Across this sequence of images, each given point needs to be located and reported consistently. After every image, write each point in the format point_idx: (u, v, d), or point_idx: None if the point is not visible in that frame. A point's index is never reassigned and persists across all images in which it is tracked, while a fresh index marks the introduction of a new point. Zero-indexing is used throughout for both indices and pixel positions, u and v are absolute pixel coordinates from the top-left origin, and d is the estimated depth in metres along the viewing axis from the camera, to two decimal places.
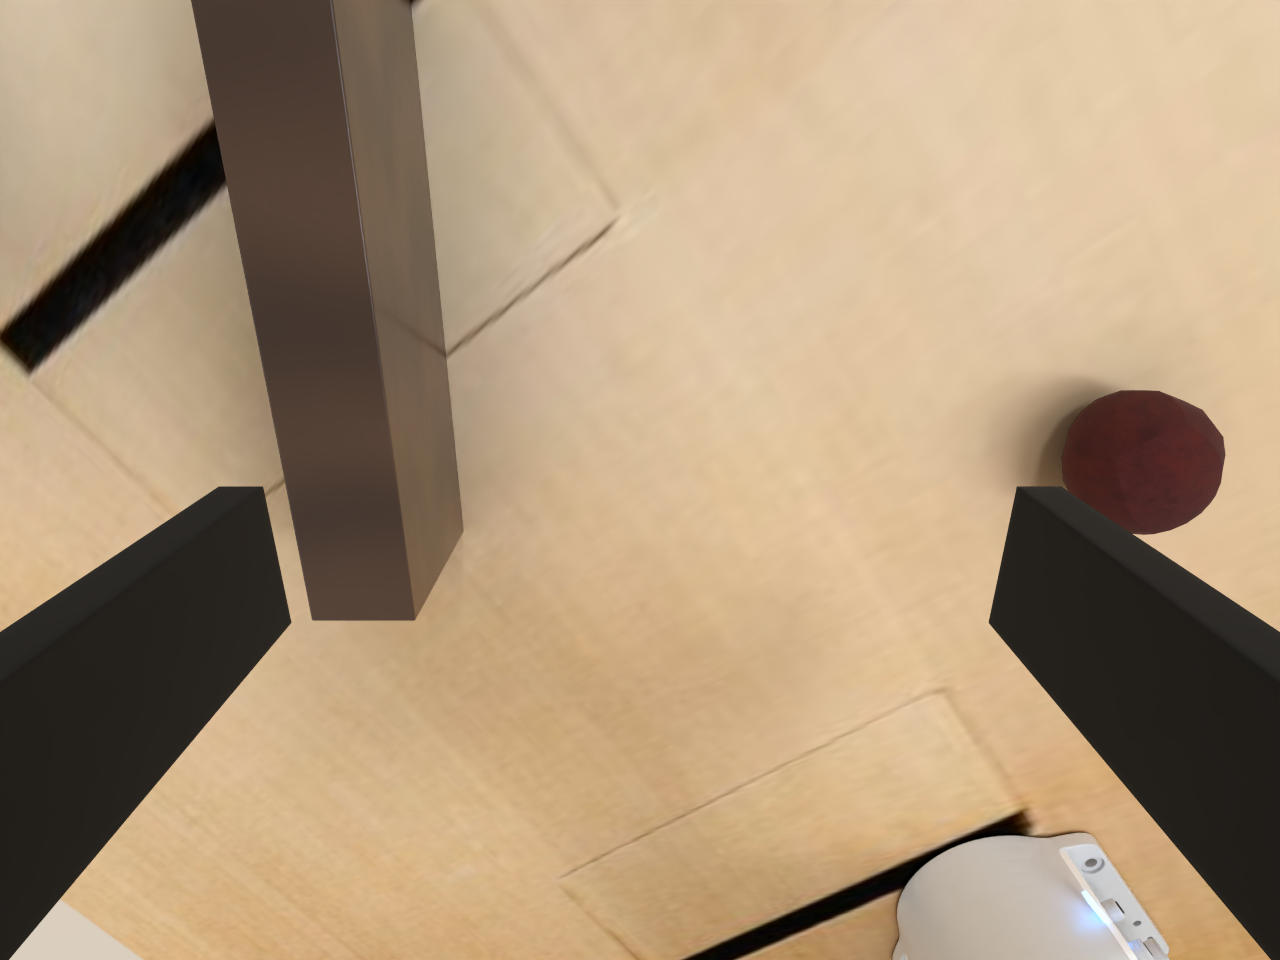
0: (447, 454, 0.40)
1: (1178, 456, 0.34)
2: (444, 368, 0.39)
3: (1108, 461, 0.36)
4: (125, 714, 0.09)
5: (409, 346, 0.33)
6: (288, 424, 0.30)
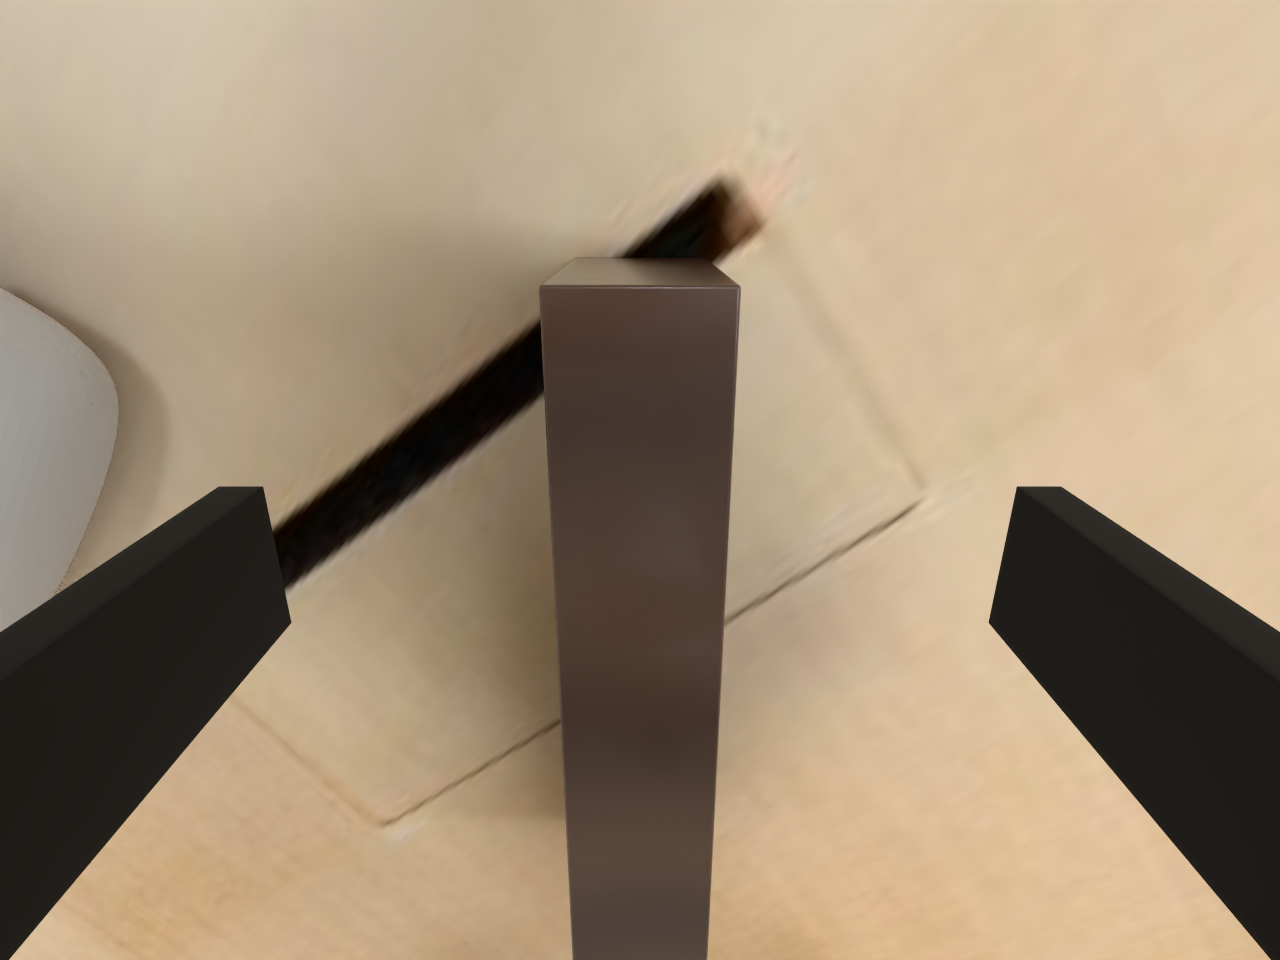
0: None
1: None
2: None
3: None
4: (125, 713, 0.09)
5: None
6: (585, 836, 0.24)
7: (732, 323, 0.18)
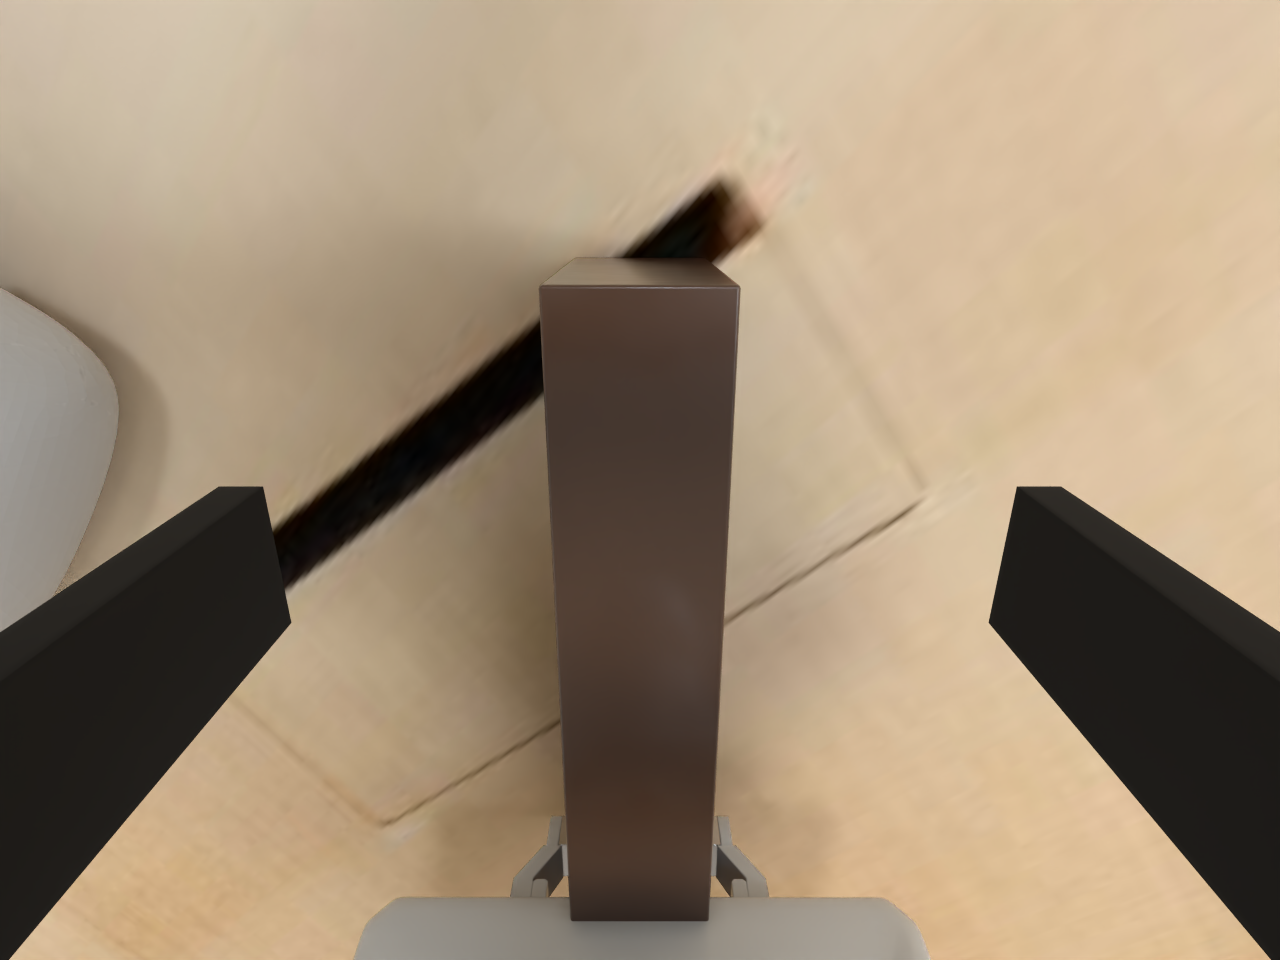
0: None
1: None
2: None
3: None
4: (125, 713, 0.09)
5: None
6: (585, 836, 0.24)
7: (731, 323, 0.18)
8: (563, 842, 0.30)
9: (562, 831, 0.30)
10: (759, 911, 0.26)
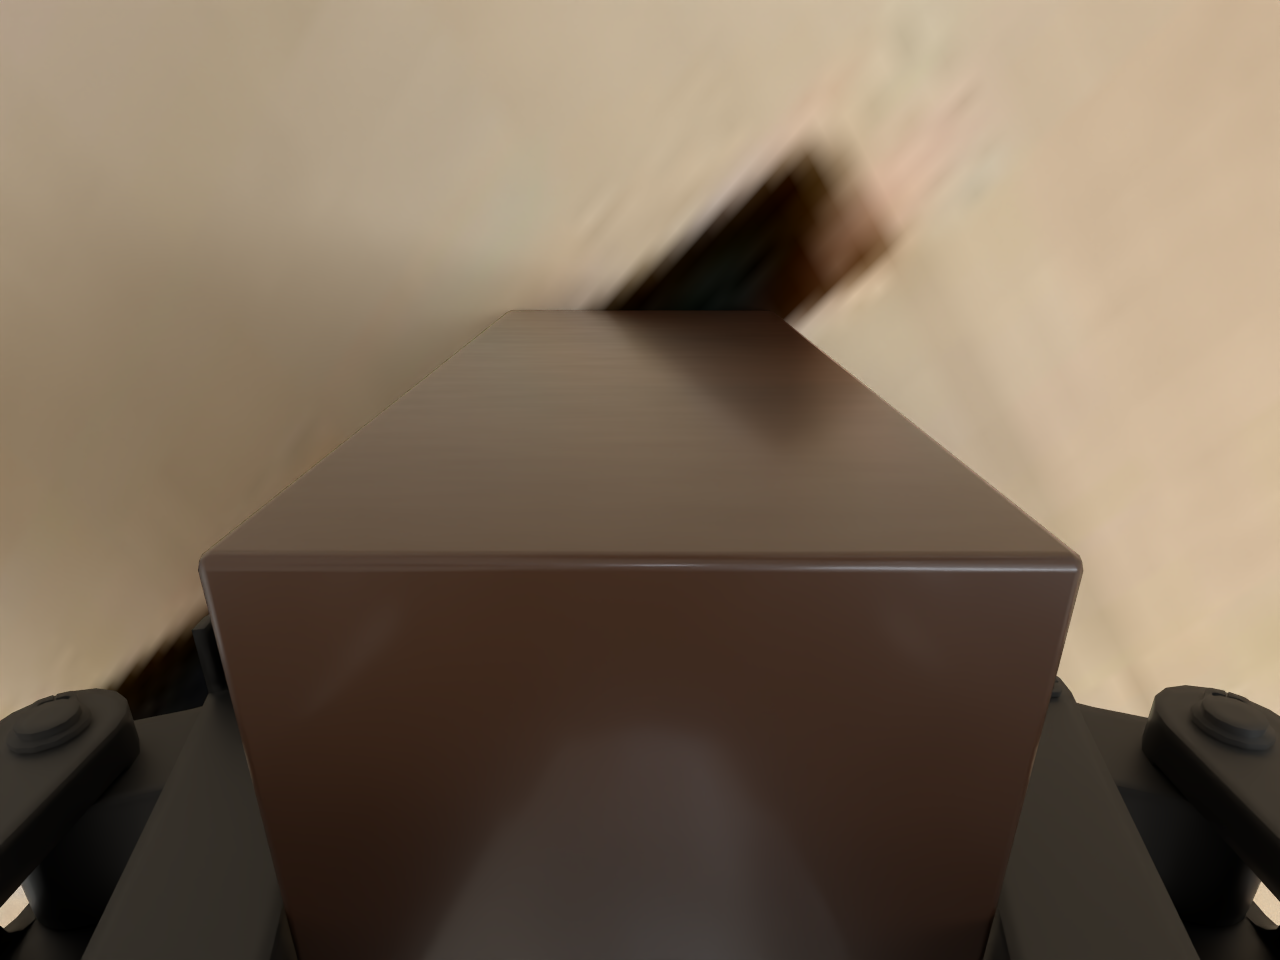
0: None
1: None
2: None
3: None
4: None
5: None
6: None
7: (1025, 698, 0.04)
8: None
9: None
10: None
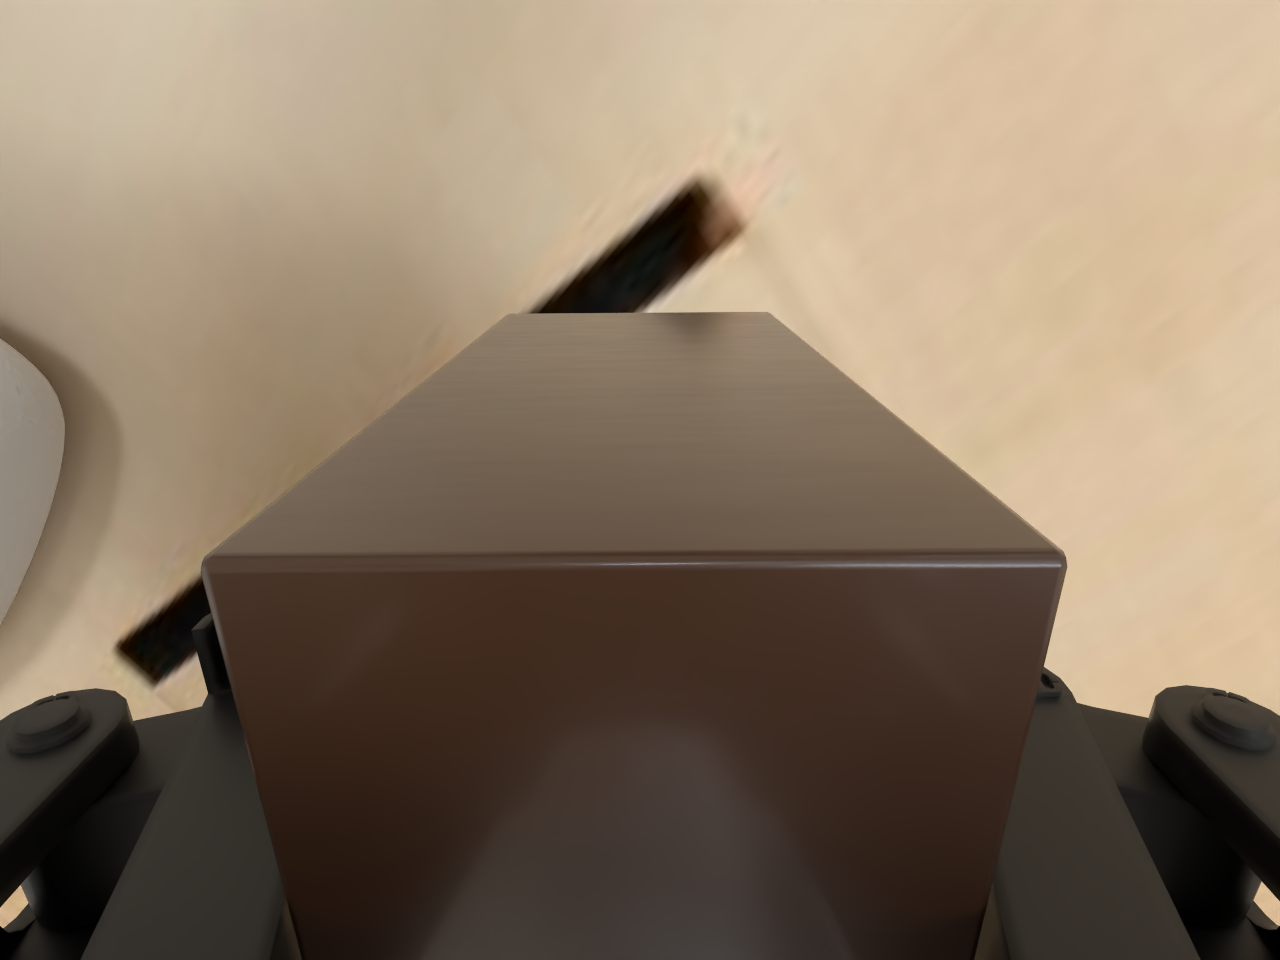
0: None
1: None
2: None
3: None
4: None
5: None
6: None
7: (1013, 693, 0.04)
8: None
9: None
10: None
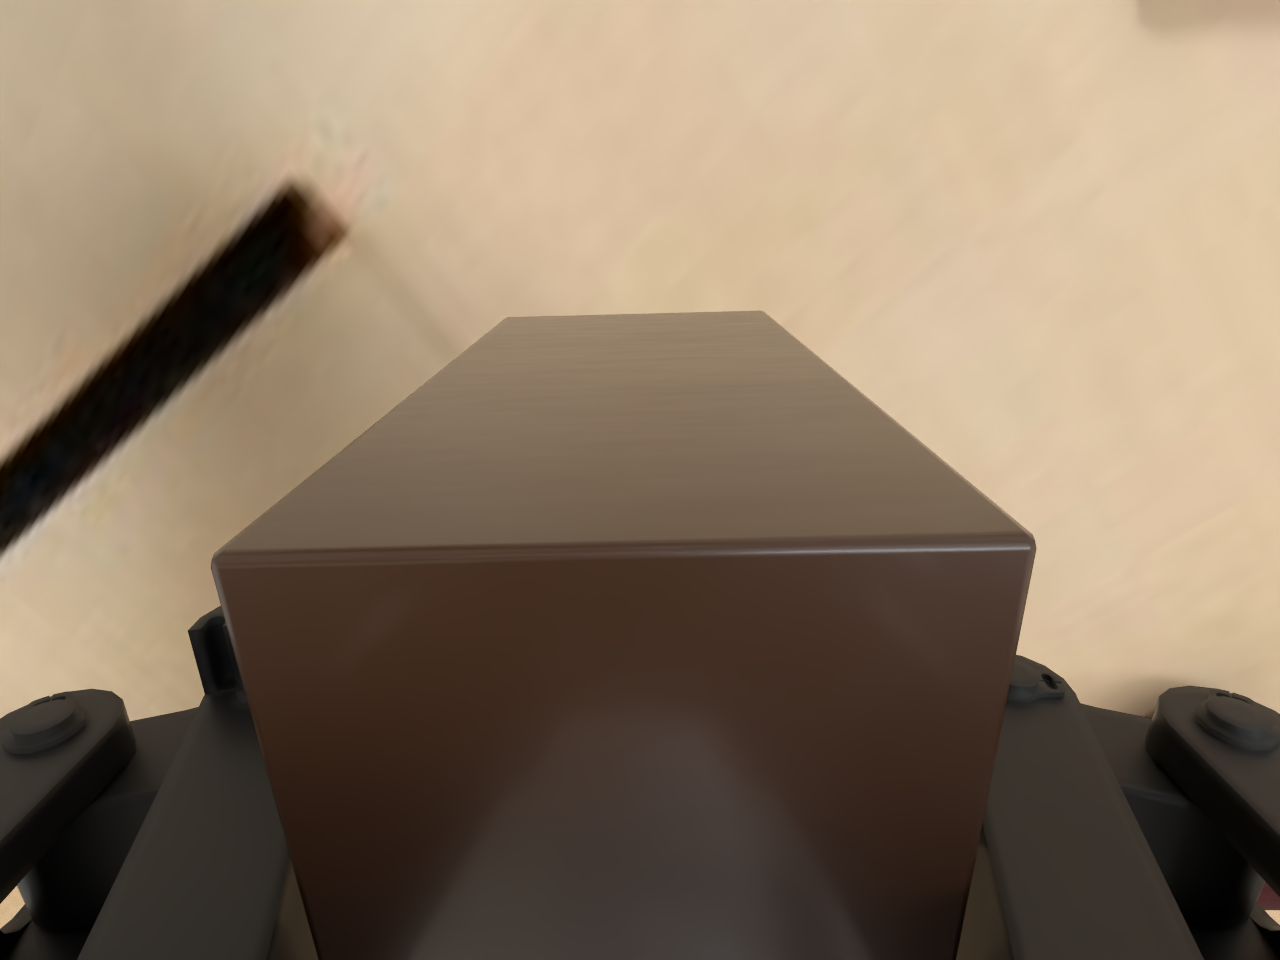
0: None
1: None
2: None
3: None
4: None
5: None
6: None
7: (989, 672, 0.04)
8: None
9: None
10: None
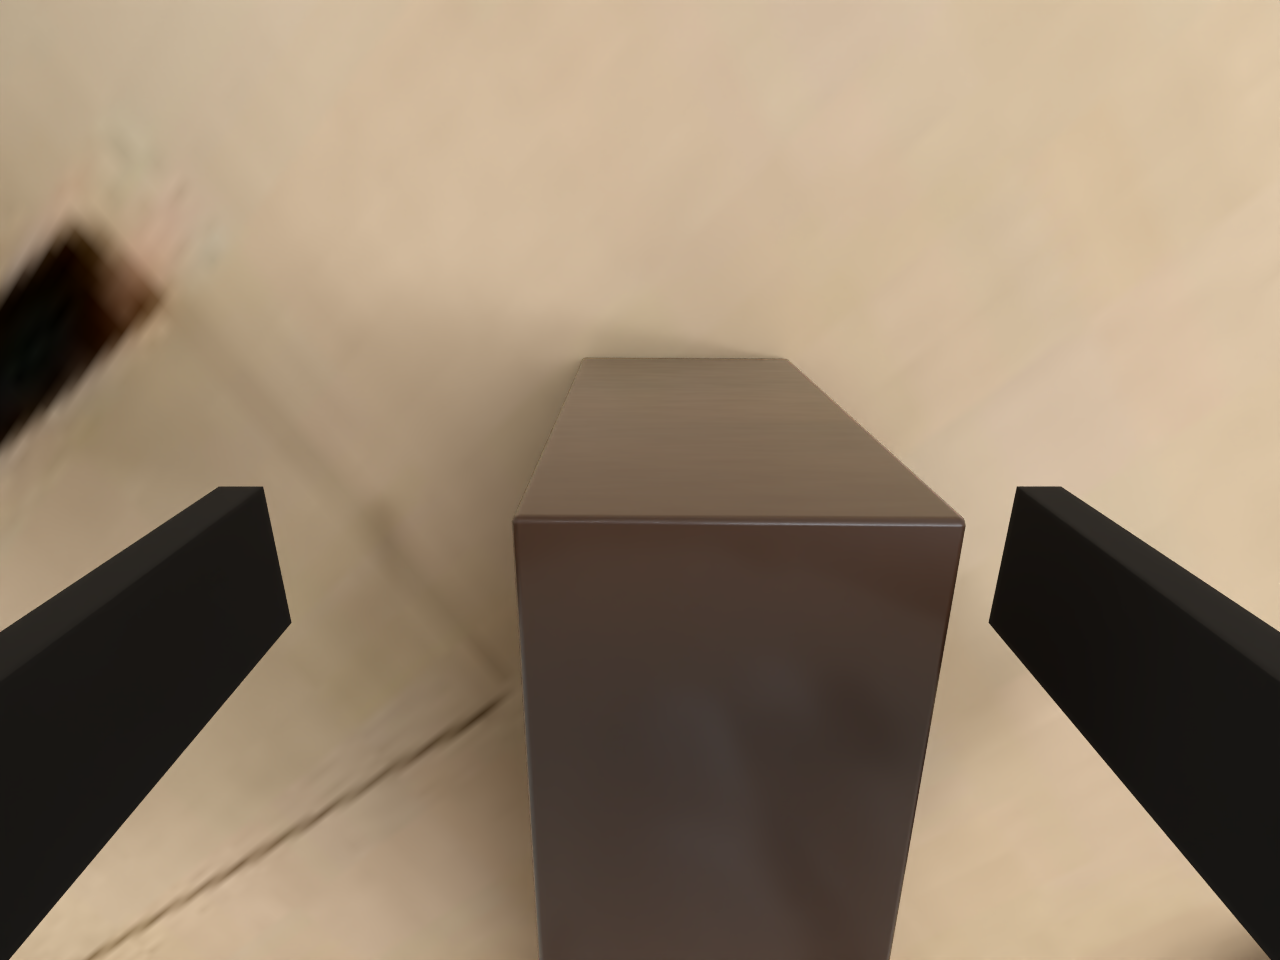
0: None
1: None
2: None
3: None
4: (125, 713, 0.09)
5: None
6: None
7: (939, 596, 0.08)
8: None
9: None
10: None
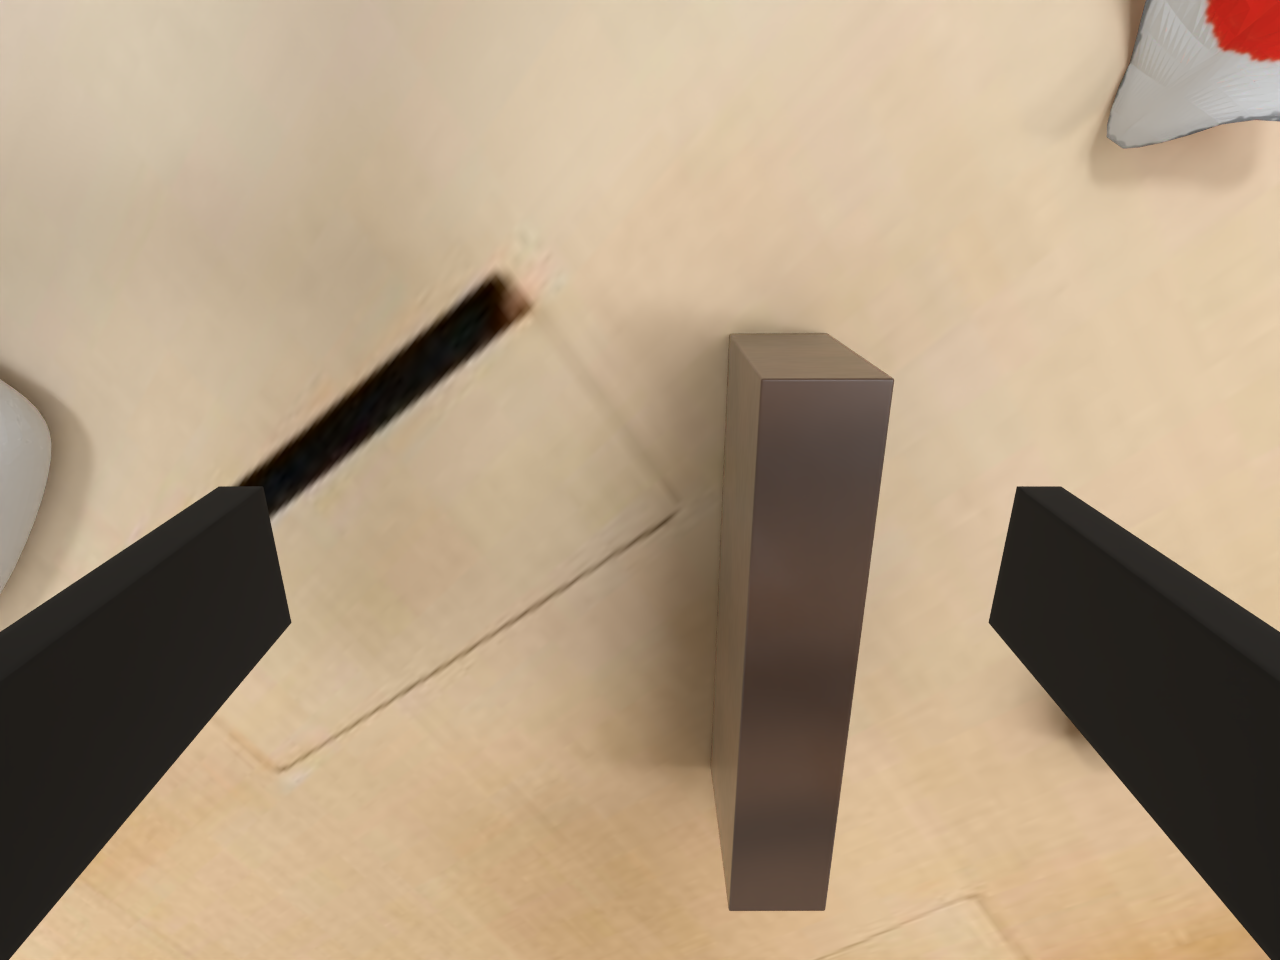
0: None
1: None
2: None
3: None
4: (125, 713, 0.09)
5: None
6: (752, 761, 0.33)
7: (886, 403, 0.27)
8: None
9: None
10: None
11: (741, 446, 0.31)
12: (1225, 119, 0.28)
